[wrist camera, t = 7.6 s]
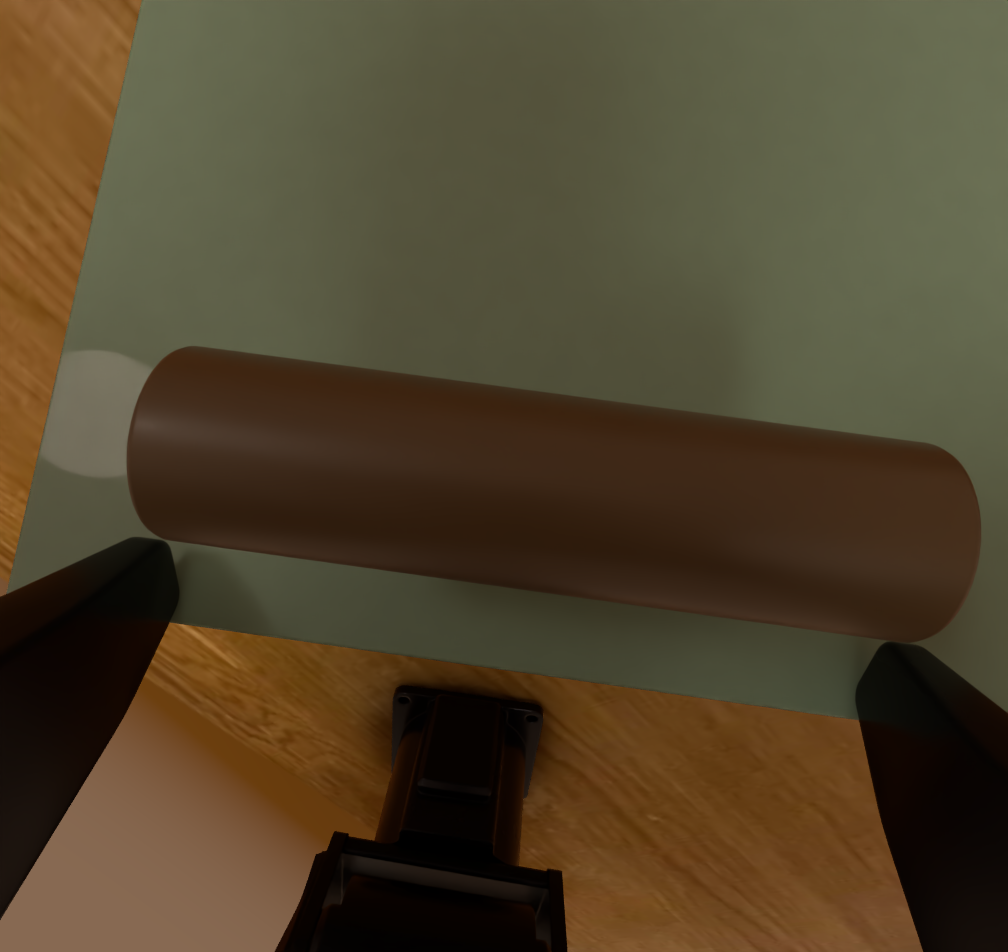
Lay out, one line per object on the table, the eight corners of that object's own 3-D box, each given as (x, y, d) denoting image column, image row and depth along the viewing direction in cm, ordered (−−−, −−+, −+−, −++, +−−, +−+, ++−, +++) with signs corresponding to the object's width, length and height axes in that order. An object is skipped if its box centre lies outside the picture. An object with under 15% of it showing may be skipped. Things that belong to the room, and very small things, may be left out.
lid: (991, 730, 9) (1559, 933, 4) (41, 596, 9) (-472, 638, 4) (1023, -42, 10) (1473, -561, 6) (203, -138, 11) (-46, -710, 6)
